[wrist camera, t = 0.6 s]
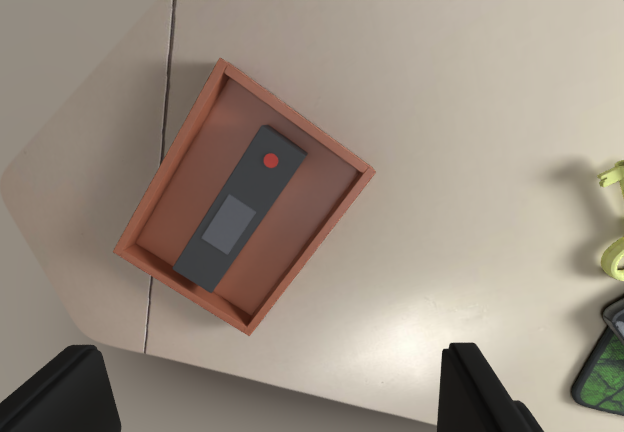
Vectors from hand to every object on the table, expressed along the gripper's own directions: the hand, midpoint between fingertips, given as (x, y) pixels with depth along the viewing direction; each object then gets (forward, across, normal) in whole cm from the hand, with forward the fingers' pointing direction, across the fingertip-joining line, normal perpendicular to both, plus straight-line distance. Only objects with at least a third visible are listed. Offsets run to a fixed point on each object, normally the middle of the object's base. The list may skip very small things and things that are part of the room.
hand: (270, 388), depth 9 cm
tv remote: (+22, +7, +1) cm, 24 cm away
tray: (+23, +7, +1) cm, 24 cm away
